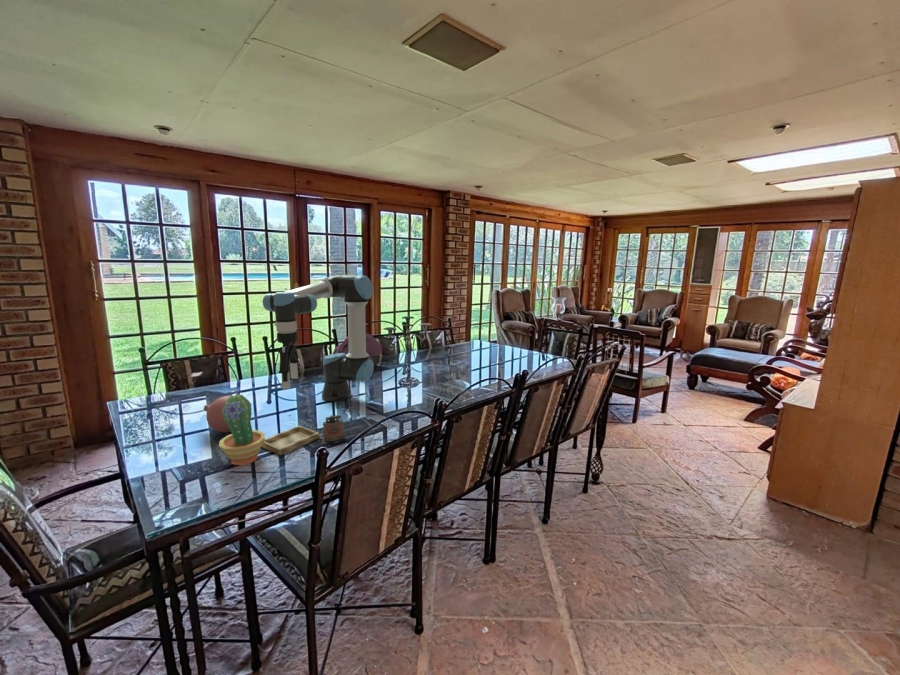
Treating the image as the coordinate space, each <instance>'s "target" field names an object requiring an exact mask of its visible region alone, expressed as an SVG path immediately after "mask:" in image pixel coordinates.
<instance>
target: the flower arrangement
mask: <svg viewBox="0 0 900 675" xmlns="http://www.w3.org/2000/svg"><path fill="white" fill-rule="evenodd" d="M348 352H349V340H348V336H347V337H344V338H343V340H342V342H341V343H339V345H337V346H336V347H334V349H333V351H332V353H330V354H329V355H331V354H336V353H345V354H346V355H347V354H348ZM366 352H367V353H368V354H369V359H370V360H372V361H373V360H374V358H373V357H379V356H381V355H382V353H383V347H382V344H381V343H380V342H379V341H378V340H377V339H375V337H374V336H373V335H372V334H370V333H368V332H366Z"/></svg>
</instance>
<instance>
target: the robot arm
mask: <svg viewBox="0 0 900 675" xmlns="http://www.w3.org/2000/svg"><path fill="white" fill-rule="evenodd" d="M373 293H374V286H373V284H372V280H370V278H369V277H368V276H367V275H363V274H335V275H331V276H328V277H325V278H321V279H319V280H318V281H317V282H314V283H311V284H307V285H304V286H300V287H297V288H293V289H290V290H286V291H277V292H275V293H274V292H273V293H266V294H265V295H264V296H263V298H262V306H263V308H264V309H265V310H266V311H268V312H273V313H274V316H275V323H274V326H275V329H276V340H277V343H280V344H281V343H282V346H281V347H279V352H280V355H279V371H278V374H281V383H282V384H281V385H282V390H291V380H292V379H295V380H296V379H297V380H298V379H299V371H298V370H299V368H298V363H300V360H299V357H298V352H297V347H296V342H298V340H299V339H298V324H297V315H302V314H309V313H313V312H314V311H315V310H316V309H317V307H318V301H317V300H319V299H330V298H341V299H344V303H345V305H347V325H348V326H347V327H348V328H347V329H348V331H347V332H348V336H347V337H348V340H349V352H348V354H347V355H346V354H345V353H336V354H333V353H330V354H331V355H330V354H327V355H326V356H324V357H323V360H322V362H323V363H322V366H323V378H324V385H323V389H322V392H321V399H322V400H323V401H326V402H340V401H344V400H347V399H350V398H351V397H352V391H351V388H350V385H349V383H348V381H354V382H358V383H359V382H364V383H365V382H367V381H369V380H370V378H371V377H372V376H373V373H374V369H375V365H374V364H375V363H374V361H373V360H370V359H369V354H368V353H367V352H366V333H367V332H366V330H367V329H366V323H367V322H366V305H367V304H368V303H369V299H371V298H372V296H373ZM289 368H290V369H289ZM289 371H290V372H289Z"/></svg>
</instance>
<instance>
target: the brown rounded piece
mask: <svg viewBox="0 0 900 675" xmlns="http://www.w3.org/2000/svg"><path fill="white" fill-rule="evenodd" d="M230 396H231V395H224V396H220V397H218V398H217V399H214V401H212V402H211V403H210V404H204V407H203V411H204V412H206V422H207V424H208V426H209V427H210V428H211V429H213V430H214V431H215V432H219V433H231V430H230V428H229V426H228V425H227V423H226V422H225V421H224V416H223V413H222V409H223V407H224V405H225V403H226V402H227V400H228V398H229V397H230Z"/></svg>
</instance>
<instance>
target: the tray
mask: <svg viewBox="0 0 900 675" xmlns="http://www.w3.org/2000/svg"><path fill="white" fill-rule="evenodd" d="M317 439H320V432H318V431H315V430H312V429H311V428H307V427H304V426H303V425H297V426H294V427H293V428H289V429H287V430H284V431H281V432H280V433H277V434H275V435H273V436H269V437H268V438H267V437H266V438H265V440H264V442H263V443H262V446H261V448H264V449H266V450H268V451H270V452H272V453H274V454H277V455H279V456H282V455H285V454H287V453H289V452H292V451H293V450H295V449H297V448H300V447H302V446H305V445H307V444H309V443H311V442H313V441H316V440H317Z"/></svg>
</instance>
